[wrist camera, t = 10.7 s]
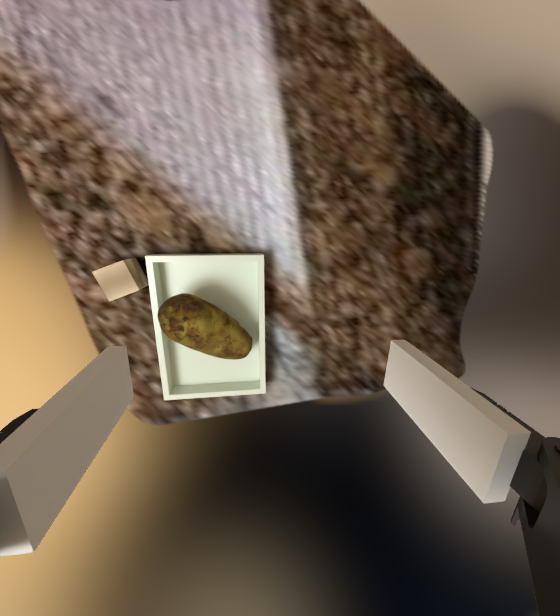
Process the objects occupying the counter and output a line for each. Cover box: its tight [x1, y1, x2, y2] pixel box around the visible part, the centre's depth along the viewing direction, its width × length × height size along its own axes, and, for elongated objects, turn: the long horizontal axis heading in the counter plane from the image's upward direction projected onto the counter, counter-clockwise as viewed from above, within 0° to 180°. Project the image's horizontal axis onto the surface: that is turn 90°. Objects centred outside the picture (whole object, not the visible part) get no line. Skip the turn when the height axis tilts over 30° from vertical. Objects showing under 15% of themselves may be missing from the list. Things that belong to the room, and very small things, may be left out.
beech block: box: [92, 257, 149, 301], centre depth 35 cm, size 4×4×4 cm
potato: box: [157, 293, 253, 360], centre depth 36 cm, size 8×13×8 cm, turn 31°
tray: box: [145, 253, 266, 400], centre depth 39 cm, size 21×15×3 cm
